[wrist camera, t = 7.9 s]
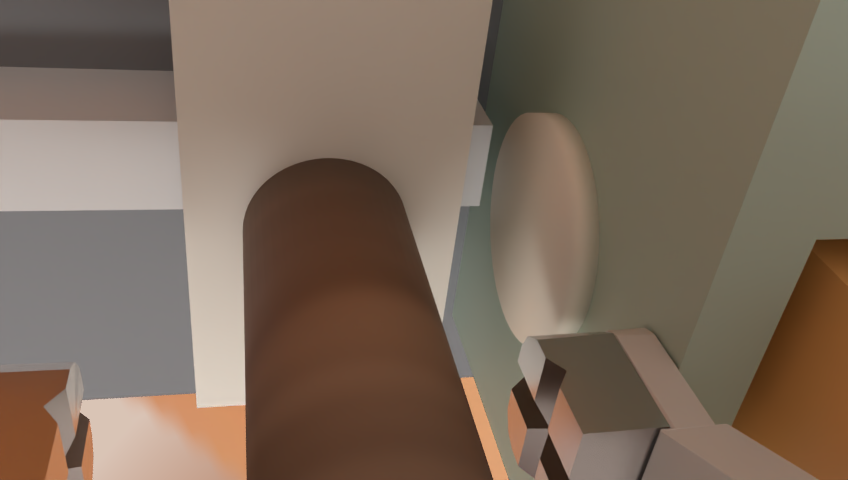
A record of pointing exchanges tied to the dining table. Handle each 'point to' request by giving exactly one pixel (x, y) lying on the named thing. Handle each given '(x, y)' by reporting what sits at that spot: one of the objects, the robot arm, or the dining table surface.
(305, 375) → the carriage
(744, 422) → the orange cube
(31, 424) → the robot arm
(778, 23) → the rail board
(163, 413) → the dining table surface
